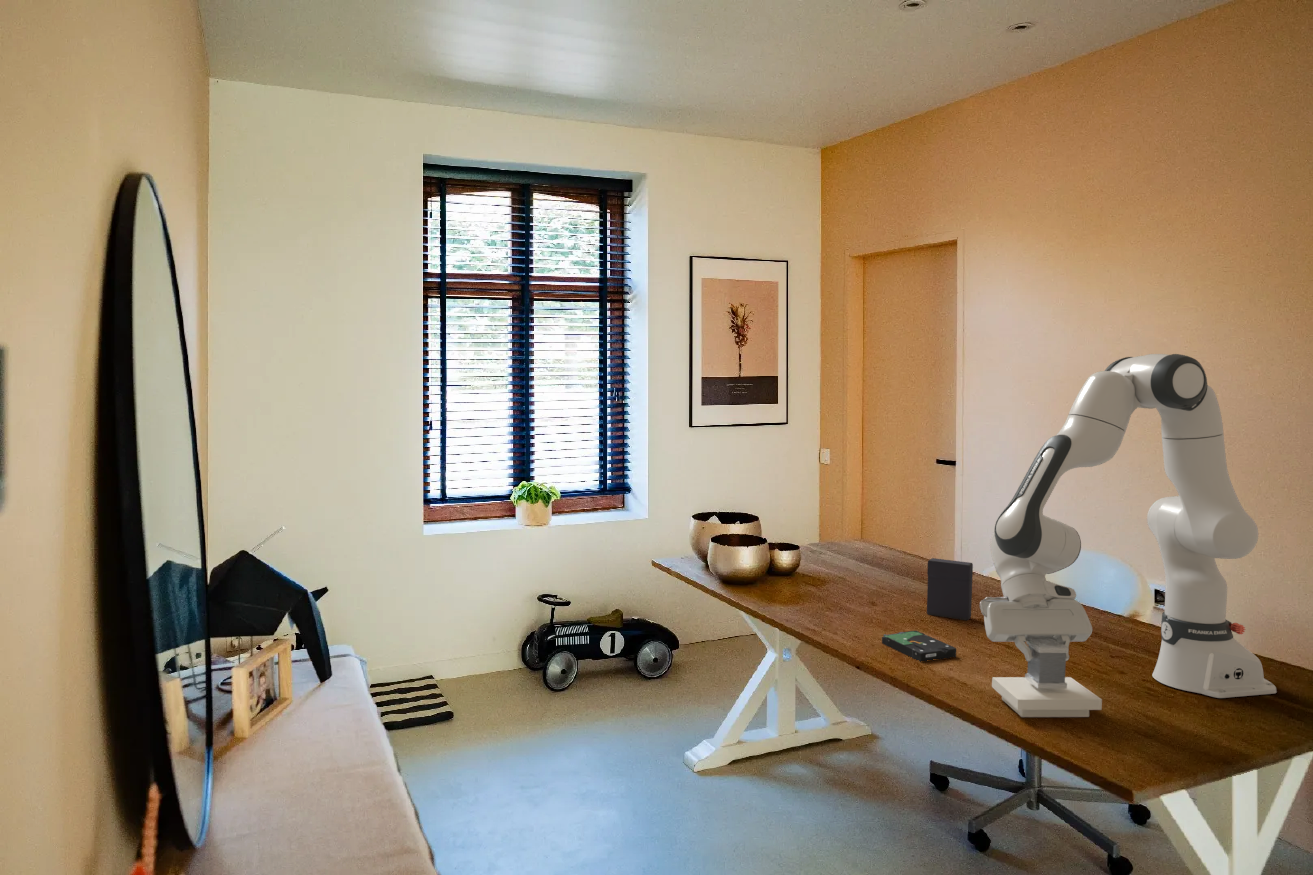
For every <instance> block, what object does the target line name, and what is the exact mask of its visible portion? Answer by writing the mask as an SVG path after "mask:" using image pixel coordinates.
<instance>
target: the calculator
mask: <svg viewBox="0 0 1313 875" xmlns="http://www.w3.org/2000/svg"><path fill="white" fill-rule="evenodd" d="M973 568H974V565H973V562H969V561H961V560H960V561H959V560H950V559H943V558H935V557H932V558H930V559H928V561H927V571H926V572H927V588H926V589H927V594H926V599H927V600H926V614H927V615H929V616H935V617H941V618H949V619H953V620H961V621H969V620H970V619H971V617H972V597H973V575H974V572H973V571H974V570H973Z"/></svg>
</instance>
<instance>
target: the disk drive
mask: <svg viewBox="0 0 1313 875" xmlns="http://www.w3.org/2000/svg"><path fill="white" fill-rule="evenodd" d="M881 644H883V645H885V646H886V647H889V648H890V647H891V649H893V650H895V651H897V652H899V653H901V654H903V655H905V656H907V655H908V657H909V656H910V657H909V658H911V657H912V658H911V659H913V660H915V659H916V660H915V661H917V660H919V661H920V662H919V661H918V662H919V663H922V662H921V661H925V662H928V661H927V660H932V661H934V660H933V659H939V660H944V658H947V659H951V658H950V657H954V658H957V647H955V646H953V645H950V644H948V643H946V642H943V641H941V640H939V639H936V638H934V637H932V636H929V635H927V634H925V633H923V632H921V631H918V630H908V631H900V632H896V633H891V634H886V633H885V634H883V636H882V637H881Z"/></svg>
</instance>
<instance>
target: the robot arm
mask: <svg viewBox="0 0 1313 875" xmlns="http://www.w3.org/2000/svg"><path fill="white" fill-rule="evenodd" d="M1070 407H1071V408H1070V410H1069V412H1068V415H1067V417H1066V420H1065V421H1064V423H1063V425H1062V426H1061V428H1060V430H1059V431H1058V432H1057V433H1056V435H1054V436H1051V437H1050V438H1048V439H1047V440H1046V441H1045V442H1044V444H1042V446H1041V447H1040V449H1039V450H1038V452H1037V454H1036V456H1035V457H1034V459H1033V461H1032V463H1031V464H1030V466H1029V467H1028V470H1027V471H1026V473H1025V475H1024V477H1023V479H1022V481H1021V482H1020V484H1019V486H1018V488H1017V490H1016V492H1015V493H1014V496H1013V497H1012V498H1011V500H1010V502H1009V503H1008V505H1007V506H1006V507H1005V508H1004V509H1003V511H1002V512H1001V513H1000V514H999V516H998V517H997V519H996V521H995V524H994V532H992V534H991V536H990V537H991V538H990V543H989V544H990V545H989V546H990V552H991V557H992V561H993V565H994V569H995V572H996V574H997V576H998V577H999V578H1000V579H999V580H1000V588H1001V592H1002V595H1003V596H995V597H994V596H993V597H992V596H986V597H985V598H984V599H981V600H980V601H979V609H980V611H981V614H982V616H983V620H984V621H983V622H984V629H985V633H986V637H987V638H988V639H989V640H990V641H991V642H995V643H998V642H1000V643H1001V642H1002V643H1003V642H1005V643H1007V642H1011V643H1012V642H1013V643H1014V644H1015V647H1016V648H1017V649H1018V650H1019V651H1021V653H1022V654H1023V655H1024V658H1025V660H1026V662H1028V661H1035V660H1036V658H1037V657H1036V654H1035V650H1034V649H1030V648H1029V645H1028V644H1027V639H1056V640H1057V641H1059V642H1060V643H1062V644H1064V645H1065V646H1067V647H1068V648H1069V647H1070V646H1069V645H1070V643H1072V642H1076V643H1077V642H1086V641H1087V640H1088V638H1089V637H1090V636H1091V635H1092V632H1093V626H1092V623H1091V620H1090V618H1089V616H1088V614H1087V612H1086V610H1085V608H1084V607H1083V605H1082V604H1081V603H1080V602H1079V601H1078V600H1076V598H1077V592H1076V590H1075V589H1074V588H1072V587H1070V586H1065V585H1061V584H1057V583H1055V582H1051V581H1049V580H1047V579H1046V575H1050V574H1054V573H1057V572H1060V571H1061V570H1064V569H1067V568H1068V567H1070V566H1072V565H1073V564H1074V563H1075V562H1076V561H1077V559H1078V558H1079V556H1080V553H1081V549H1082V541H1081V536H1080V534H1079V533H1078V531H1077V530H1076V529H1075V528H1074V527H1072V526H1070V525H1068V524H1067V523H1064V522H1061V521H1060V520H1057V519H1055V518H1051V517H1049V516H1046V515H1044V507H1045V506H1046V504H1047V502H1048V501H1049V498H1050V497H1051V495H1052V493H1053V491H1054V489H1055V487H1056V486H1057V484H1058V482H1059V480H1060V479H1061V477H1062V476H1063V475H1064V474H1065V473H1067V472H1068V471H1070V470H1072V469H1077V468H1092V467H1096V466H1100V465H1103V464H1105V463H1107V462H1109V461H1110V460H1112V459H1113V458H1114V457H1115V455H1116V454H1117V452H1118V450H1119V448H1120V447H1121V445H1122V443H1123V442H1122V441H1123V439H1124V437H1125V434H1126V431H1127V429H1128V426H1129V423H1130V419H1131V416H1132V414H1133V413H1134V412H1135V410H1137V409H1139V408H1140V409H1149V410H1150V409H1156V410H1157V412H1158V414H1159V416H1160V419H1161V420H1160V423H1161V424H1160V432H1161V433H1160V434H1161V446H1162V456H1163V469H1164V474H1165V475H1166V477H1167V479H1168V480H1169V481H1170V482H1171V484H1173V486H1174V489H1175V490H1176V493H1177V494H1178V495H1175V496H1165V497H1161V498H1159V499H1157V500H1155V502H1153V504H1151V505H1150V507H1149V509H1148V511H1147V514H1146V523H1147V526H1148V529H1149V530H1150V532H1151V533H1152V534H1153V536H1154V538H1155V540H1156V542H1157V545H1158V548H1159V552H1160V556H1161V560H1162V564H1163V570H1164V577H1165V580H1164V581H1165V586H1164V587H1165V590H1164V591H1165V592H1164V594H1165V595H1164V611H1162V614H1161V624H1160V635H1161V643H1160V644H1161V645H1160V648H1159V649H1160V650H1159V653H1158V657H1157V661H1156V664H1155V667H1154V670H1153V672H1152V678H1154V679H1155V680H1156V681H1157V682H1159V683H1161V684H1163V685H1166V686H1168V687H1171V688H1173V689H1174V688H1175V689H1178V690H1182V691H1187V692H1192V693H1197V694H1202V695H1204V696H1209V697H1212V698H1217V699H1226V698H1235V697H1236V698H1237V697H1238V698H1239V697H1247V696H1249V697H1250V696H1259V695H1261V696H1262V695H1271V694H1276V693H1277V692H1278V691H1277V687H1276V686H1275V685H1276V684H1275V685H1274V684H1273V683H1272V682H1271V681H1269V680H1268V679H1266V678H1264V677H1265V676H1264V669H1263V665H1262V664H1263V663H1262V662H1261V660H1260V659H1259V657H1257V656H1256V654H1254V653H1253V652H1252V651H1250V650H1249V649H1248V648H1246V646H1244V645H1243V644H1242V643H1240V642H1239V641H1238V640H1237V639H1235V637H1234V634H1233V633H1236V634H1237V635H1243V634H1244V633H1245V631H1246V627H1245V626H1244V625H1243V624H1241V623H1238V622H1233V623H1232V622H1231V621H1229V620H1228V619H1226V618H1227V601H1228V600H1227V599H1228V584H1227V581H1226V578H1225V577H1224V576H1223V574H1222V573H1221V572H1220V569H1219V567H1218V565H1217V562H1216V559H1222V560H1223V559H1225V560H1237V559H1241V558H1244V557H1246V556H1247V555H1249V554H1251V552H1252V551H1253V550H1254V549H1255V548H1256V545H1257V543H1258V540H1259V528H1258V526H1257V523H1256V522H1255V520H1254V519H1253V518H1252V517H1251V516H1250V515H1249V514H1248V513H1247V511H1246V510H1245V509H1244V507H1243V506H1242V504H1241V502H1240V499H1239V498H1238V495H1237V493H1236V491H1235V489H1234V486H1233V483H1232V480H1231V477H1230V475H1229V474H1230V473H1229V471H1228V465H1227V457H1226V445H1225V435H1224V423H1223V419H1222V412H1221V409H1220V406H1219V401H1218V398H1217V395H1216V392H1215V390H1214V389H1213V388H1212V387H1211V386H1210V385H1208V379H1207V374H1206V371H1205V369H1204V367H1203V366H1202V364H1201V363H1200V362H1199V361H1198V360H1197V359H1195V358H1193V357H1191V356H1190V355H1189V356H1188V355H1185V354H1179V353H1173V354H1171V353H1170V354H1168V353H1167V354H1165V353H1149V354H1145V355H1139V356H1126V357H1122V358H1120V359H1116V360H1115V361H1113V362H1112V363H1110V364H1109V365H1108V366H1107V367H1106V368H1105V369H1104V370H1103V371H1101V370H1100V371H1097V372H1093V373H1092V374H1090V375H1089V376H1088V378H1086V380H1085V382H1084V383H1083V385H1082V387H1081V388H1080V390H1079V391H1078V393H1077V395H1076V397H1075V399H1074V401H1073V403H1072V405H1071V406H1070ZM1069 659H1070V655H1069V652H1068V653H1066V662H1067V661H1069Z"/></svg>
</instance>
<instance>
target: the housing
mask: <svg viewBox="0 0 1313 875" xmlns="http://www.w3.org/2000/svg"><path fill="white" fill-rule="evenodd" d="M1026 645H1027V646H1028V647H1029V648H1030V649H1034V650H1035V654H1036V657H1037V658H1036V660H1035V661H1027V673H1024V677H1025V679H1027V680H1028V681H1029V682H1030V683H1032V684H1033V685H1034V686H1035V687H1037V688H1038V689H1067V683H1066V682H1065V677H1066V665H1067V664H1066V663H1067V661H1066V653H1068V654H1069V648H1070V647H1069V646H1068V647H1067V646H1065V645H1064V644H1062V643H1060V642H1059V641H1057V640H1056V639H1027V642H1026Z"/></svg>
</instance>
